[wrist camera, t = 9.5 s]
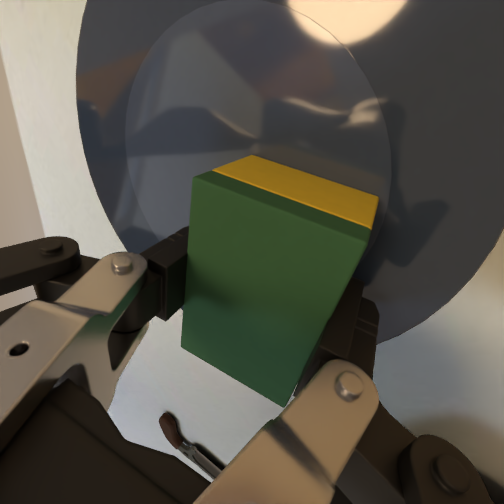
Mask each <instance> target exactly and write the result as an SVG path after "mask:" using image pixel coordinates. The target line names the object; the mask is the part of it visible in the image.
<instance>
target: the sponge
mask: <svg viewBox="0 0 504 504" xmlns="http://www.w3.org/2000/svg"><path fill="white" fill-rule="evenodd" d="M378 201H379V197H378V196H375V195H372V194H369V193H366V192H363V191H360V190H357V189H354V188H351V187H348V186H345V185H342V184H339V183H336V182H333V181H330V180H327V179H324V178H321V177H318V176H315V175H312V174H309V173H306V172H303V171H300V170H296V169H293V168H290V167H287V166H284V165H281V164H278V163H275V162H272V161H269V160H266V159H263V158H260V157H257V156H254V155H250V156H247V157H245V158H242V159H239V160H237V161H234V162H231V163H229V164H226V165H223V166H221V167H218V168H215V169H213V170H211V171H208V172H205V173H202V174H200V175H197V176H194V177H193V179H192V191H191V206H190V220H189V235H188V249H187V253H188V256H187V270H186V284H185V298H184V307H183V322H182V336H181V347H182V348H183V349H185V350H187V351H188V352H190V353H192V354H194V355H195V356H197V357H199V358H200V359H202V360H204V361H205V362H207V363H209V364H210V365H212V366H214V367H216V368H217V369H219V370H221V371H222V372H224V373H226V374H227V375H229V376H231V377H232V378H234V379H236V380H237V381H239V382H241V383H243V384H244V385H246V386H248V387H249V388H251V389H253V390H254V391H256V392H258V393H259V394H261V395H263V396H264V397H266V398H268V399H270V400H271V401H273V402H275V403H276V404H278V405H280V406H281V407H285V406H286V405H287V403H288V401H289V399H290V397H291V395H292V393H293V391H294V389H295V387H296V385H297V383H298V381H299V379H300V376H301V374H302V371H303V368H304V366H305V364H306V362H307V360H308V358H309V357H310V355H311V353H312V351H313V349H314V347H315V345H316V343H317V341H318V339H319V337H320V335H321V333H322V331H323V329H324V327H325V325H326V323H327V321H328V320H329V319H330V318H331V316H332V314H333V312H334V310H335V308H336V306H337V304H338V302H339V300H340V298H341V297H342V295H343V293H344V291H345V289H346V287H347V285H348V283H349V281H350V279H351V277H352V275H353V273H354V271H355V269H356V267H357V265H358V263H359V261H360V259H361V257H362V255H363V253H364V251H365V249H366V247H367V245H368V241H369V237H370V233H371V229H372V225H373V221H374V217H375V213H376V209H377V205H378Z"/></svg>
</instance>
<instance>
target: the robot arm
mask: <svg viewBox="0 0 504 504" xmlns="http://www.w3.org/2000/svg"><path fill="white" fill-rule="evenodd" d="M188 235H189V226H187V227H184V228H182V229H180V230H179V231H177V232H175V234H172V235H170V236H168V237H167V239H166V238H165V239H163V240H162V241H160V242H158V243H157V244H155V245H153V246H151V247H150V248H148V249H146V250H145V251H143V252H141V253H140V254H137V253H133V252H116V253H112V254H109V255H107V256H105V257H103V258H102V259H97V258H92V257H88V256H83V255H80V250H79V245H78V243H77V242H76V241H75V240H73V239H71V238H67V237H60V236H55V237H46V238H41V239H37V240H33V241H29V242H25V243H21V244H16V245H12V246H8V247H4V248H0V296H1V295H4V294H7V293H10V292H13V291H16V290H19V289H22V288H25V287H28V286H31V285H33V286H34V289H35V292H36V295H37V299H34V300H31V301H29V302H26V303H23V304H20V305H18V306H15V307H12V308H9V309H6V310H4V311H1V312H0V504H330V503H331V500H332V498H333V496H334V493H335V490H336V488H335V484H336V485H337V486H338V487H339V488H340V490H341V491H342V492H343V493H344V494H345V495H346V497H347V498H348V499H349V500H350V501H351V502H352V503H353V504H492V501H491V499H490V496H489V494H488V492H487V489H486V487H485V485H484V483H483V481H482V479H481V477H480V475H479V474H478V472H477V470H476V469H475V468H474V466H473V465H472V463H471V462H470V461H469V460H468V459H467V458H466V456H465V455H464V454H462V453H461V452H460V451H459V450H458V449H457V448H456V447H455V446H453V445H452V444H450V443H449V442H447V441H446V440H444V439H442V438H440V437H437V436H433V435H422V436H419V437H417V438H416V437H415V436H414V435H413V434H412V433H410V432H409V431H408V430H407V429H406V428H405V427H404V426H402V425H401V424H400V423H399V422H398V421H397V420H396V419H395V418H393V417H392V416H391V415H390V414H389V413H388V411H387V410H386V409H385V408H384V407H383V405H382V404H381V402H380V401H379V395H378V391H377V389H376V386H375V384H374V383H373V381H372V379H373V369H374V360H375V352H376V343H377V339H376V338H377V335H378V326H379V318H380V314H379V312H378V309H377V307H376V304H375V302H373V301H371V300H368V299H366V298H364V297H362V293H363V289H364V284H365V282H364V281H361V280H359V279H357V278H354V277H351V279H350V281H349V283H348V285H347V287H346V289H345V291H344V293H343V295H342V297H341V298H340V300H339V302H338V304H337V306H336V308H335V310H334V312H333V314H332V316H331V318H330V319H329V320H328V321H327V323H326V325H325V327H324V329H323V331H322V333H321V335H320V337H319V339H318V341H317V343H316V345H315V347H314V349H313V351H312V353H311V355H310V357H309V358H308V360H307V362H306V364H305V366H304V368H303V371H302V374H301V376H300V379H299V381H298V384H297V387H296V389H295V392H294V395H293V396H295V398H294V399H293V400H292V401H291V402H290V404H289V405H288V406H287V407H286V408H285V409H284V410H283V411H282V413H281V414H280V415H279V416H278V417H277V418H276V419H274V420H273V419H272V420H270V421H269V422H267V423H266V424H265V425H264V426H263V427H262V428H261V429H260V430H259V431H258V432H257V433H256V435H255V436H254V437H253V438H252V439H251V440H250V441H249V442H248V443H247V444H246V446H245V447H244V448H243V449H242V450H241V451H240V452H239V453H238V454H237V455H236V456H235V458H234V459H233V460H232V461H231V462H230V463H229V464H228V465H227V466H226V467H225V469H224V470H223V471H222V472H221V473H220V474H219V475H218V476H217V477H216V478H215V479H214V481H213V482H212V483H211V482H209V481H208V480H207V479H205V478H204V477H203V476H201V475H200V474H199V473H197V472H196V471H194V470H193V469H192V468H190V467H189V466H188V465H186V464H185V463H184V462H182V461H181V460H179V459H178V458H177V457H175V456H173V455H170V454H167V453H163V452H160V451H157V450H154V449H151V448H148V447H145V446H142V445H139V444H136V443H132V442H130V441H127V440H126V439H125V438H124V437H123V436H122V435H121V433H120V432H119V430H118V429H117V427H116V426H115V424H114V422H113V421H112V419H111V418H110V416H109V415H108V413H107V411H108V409H109V407H110V405H111V402H112V400H113V397H114V394H115V389H116V385H117V382H118V380H119V377H120V375H121V374H122V372H123V370H124V369H125V367H126V365H127V364H128V362H129V360H130V359H131V357H132V355H133V354H134V352H135V350H136V349H137V347H138V345H139V344H140V342H141V340H142V339H143V337H144V335H145V333H146V332H147V330H148V327H149V321H150V320H151V319H152V318H153V317H154V316H157V317H159V318H160V319H162V320H164V321H167V320H168V319H169V318H170V317H171V316H172V315H173V314H174V313H175V312H177V311H178V310H179V309H180V308H181V307H182V306H183V305H184V298H185V284H186V270H187V256H188V253H187V249H188Z"/></svg>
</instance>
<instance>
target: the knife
mask: <svg viewBox="0 0 504 504" xmlns="http://www.w3.org/2000/svg"><path fill="white" fill-rule="evenodd" d="M159 423H160V426H161V429H162V431H163V433H164V435H165V437H166V438H167V440H168V441H169V442H170V443H171V444H172V446H173V447H174V448H176V449H179V450H180V451H181V452H182V453H183V454H184V455H185V456H186V457H187V458H188V459H190V460H191V461H192V462H194V463H195V464H196V465H197V466H199V467H200V468H201V469H202V470H203V471H204V472H206V473H207V474H208V475H209V476H210V477H211V478H212V479H215V478H216V477H217V476H218V475H219V474H220V473H221V472H222V471H221V470H220V469H219V468H218V467H216V466H215V465H214V464H213V463H212V462H211V461H209V460H208V459H207V458H206V457H205V456H204V455H203V454H201V453H200V452H199V451H198V450H197V448H196V447H195V446H191V447H188V446H186V445H185V444H184V443H183V440H182V439H181V437H180V436H179V435H178V433H177V429H176V423H175V420H174V419H173V418H172V417H171V416H170V415H168V414H167V413H164V414H163V415H162V416H161V417H160V419H159Z"/></svg>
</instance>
